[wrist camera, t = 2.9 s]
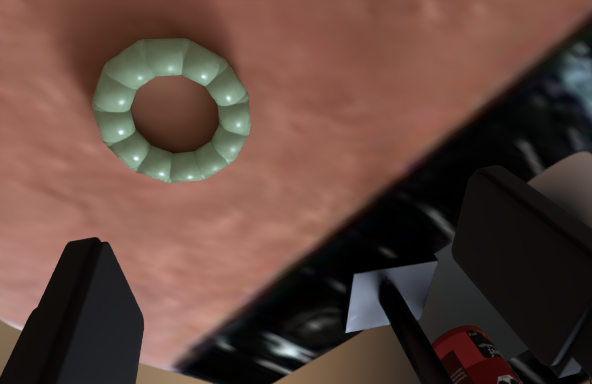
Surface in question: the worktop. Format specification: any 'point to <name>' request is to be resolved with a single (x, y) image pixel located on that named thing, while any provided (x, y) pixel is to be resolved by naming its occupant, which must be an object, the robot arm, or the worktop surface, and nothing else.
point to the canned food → (473, 358)
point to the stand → (396, 307)
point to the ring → (165, 62)
